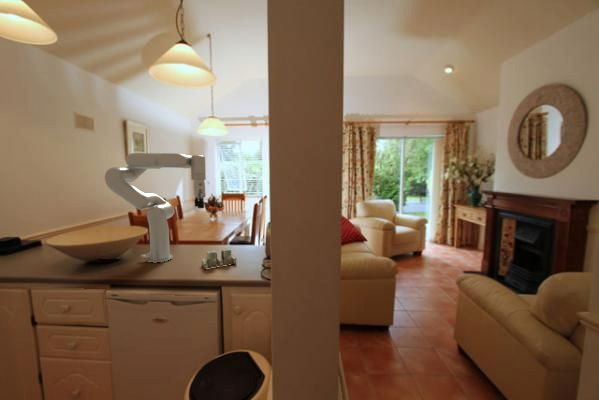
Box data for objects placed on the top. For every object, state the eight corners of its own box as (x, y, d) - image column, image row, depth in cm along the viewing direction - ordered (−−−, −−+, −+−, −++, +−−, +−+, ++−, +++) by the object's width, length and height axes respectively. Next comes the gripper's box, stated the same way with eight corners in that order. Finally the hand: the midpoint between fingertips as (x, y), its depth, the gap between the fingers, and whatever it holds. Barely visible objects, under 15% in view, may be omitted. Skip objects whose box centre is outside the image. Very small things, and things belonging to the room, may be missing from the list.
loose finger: (208, 266, 128) (208, 253, 127) (206, 264, 131) (206, 251, 131) (217, 264, 130) (217, 252, 130) (215, 262, 134) (215, 250, 133)
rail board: (204, 270, 125) (204, 255, 124) (201, 265, 132) (201, 251, 131) (236, 264, 134) (236, 250, 133) (232, 260, 141) (232, 246, 140)
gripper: (208, 177, 133) (209, 208, 135) (202, 177, 148) (203, 205, 149) (193, 177, 129) (194, 209, 131) (189, 177, 144) (189, 206, 145)
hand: (199, 207), depth 140 cm, fingers open, 9 cm apart
